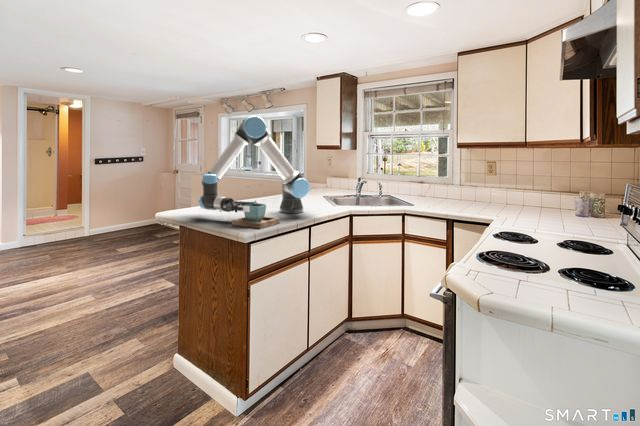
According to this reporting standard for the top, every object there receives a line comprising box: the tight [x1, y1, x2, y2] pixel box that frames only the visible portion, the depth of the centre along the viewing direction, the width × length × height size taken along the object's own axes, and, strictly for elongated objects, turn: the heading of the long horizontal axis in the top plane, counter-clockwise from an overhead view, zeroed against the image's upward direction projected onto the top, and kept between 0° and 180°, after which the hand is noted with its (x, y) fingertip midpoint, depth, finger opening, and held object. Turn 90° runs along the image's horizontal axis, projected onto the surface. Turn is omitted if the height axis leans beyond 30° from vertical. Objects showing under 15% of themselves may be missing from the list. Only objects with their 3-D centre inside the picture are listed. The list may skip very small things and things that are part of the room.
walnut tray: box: [231, 216, 280, 230], centre depth 181 cm, size 17×17×2 cm
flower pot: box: [243, 203, 267, 223], centre depth 180 cm, size 9×9×9 cm
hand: (257, 207), depth 179 cm, fingers open, 13 cm apart
